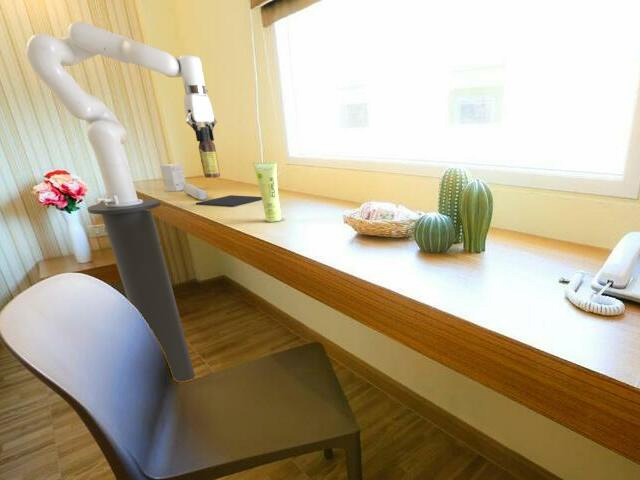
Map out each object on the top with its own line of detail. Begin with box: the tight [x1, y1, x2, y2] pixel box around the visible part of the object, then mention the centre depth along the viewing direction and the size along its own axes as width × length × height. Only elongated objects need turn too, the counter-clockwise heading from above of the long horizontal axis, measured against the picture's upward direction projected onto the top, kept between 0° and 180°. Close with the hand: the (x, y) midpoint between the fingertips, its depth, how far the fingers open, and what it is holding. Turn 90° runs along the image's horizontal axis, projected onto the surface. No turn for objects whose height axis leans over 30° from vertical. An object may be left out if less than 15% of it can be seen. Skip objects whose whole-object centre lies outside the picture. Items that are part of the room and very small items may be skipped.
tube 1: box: [182, 183, 208, 201], centre depth 182 cm, size 5×5×25 cm
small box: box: [159, 163, 187, 193], centre depth 203 cm, size 8×6×13 cm
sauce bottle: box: [198, 126, 221, 179], centre depth 162 cm, size 7×6×20 cm
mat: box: [195, 194, 262, 208], centre depth 171 cm, size 20×20×1 cm
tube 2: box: [252, 160, 282, 223], centre depth 131 cm, size 6×5×20 cm
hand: (205, 140), depth 160 cm, fingers closed on sauce bottle, 4 cm apart
